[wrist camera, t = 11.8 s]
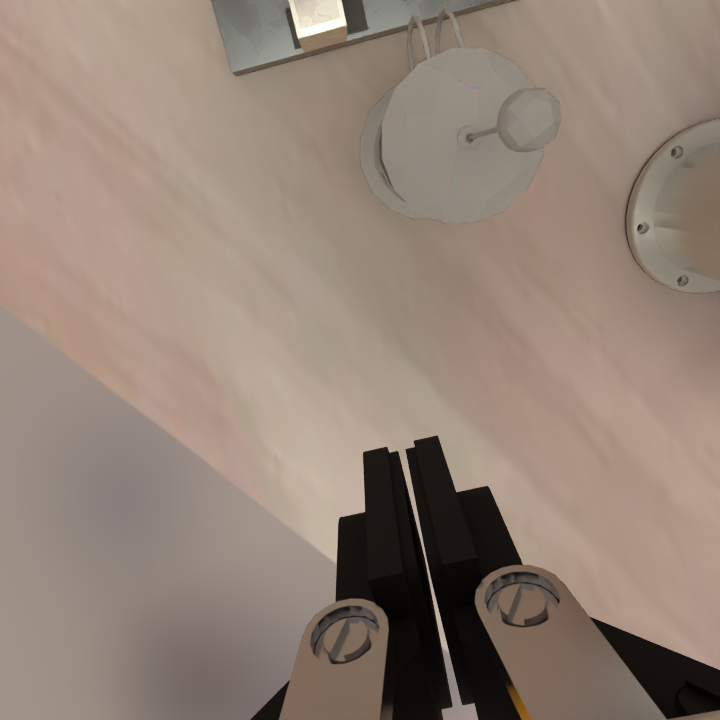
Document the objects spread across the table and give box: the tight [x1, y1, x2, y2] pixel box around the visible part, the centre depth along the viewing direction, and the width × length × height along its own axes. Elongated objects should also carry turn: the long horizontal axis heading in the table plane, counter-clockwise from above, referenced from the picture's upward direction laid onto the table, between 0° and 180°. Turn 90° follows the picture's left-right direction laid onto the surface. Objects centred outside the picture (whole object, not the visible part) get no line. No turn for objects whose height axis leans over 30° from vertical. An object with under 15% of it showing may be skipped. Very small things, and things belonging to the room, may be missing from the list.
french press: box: [360, 7, 561, 223], centre depth 27 cm, size 10×12×25 cm
